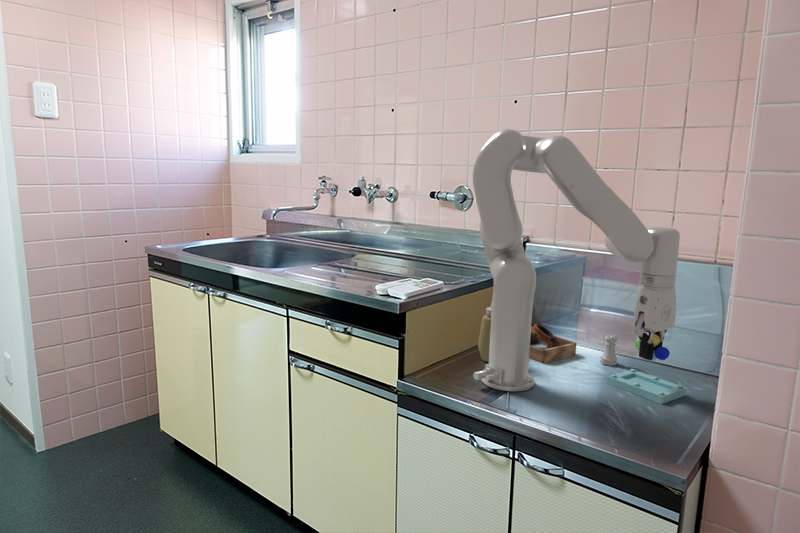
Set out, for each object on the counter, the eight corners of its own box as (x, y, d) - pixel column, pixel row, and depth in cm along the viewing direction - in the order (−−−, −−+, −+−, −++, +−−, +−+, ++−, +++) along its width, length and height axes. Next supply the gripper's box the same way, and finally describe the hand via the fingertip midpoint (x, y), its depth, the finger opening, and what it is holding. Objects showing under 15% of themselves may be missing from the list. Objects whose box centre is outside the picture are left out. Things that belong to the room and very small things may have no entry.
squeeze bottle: (507, 366, 142) (511, 299, 139) (476, 363, 144) (480, 298, 141) (506, 356, 150) (510, 293, 147) (477, 354, 151) (480, 291, 148)
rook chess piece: (618, 367, 144) (621, 338, 142) (601, 365, 145) (603, 336, 143) (615, 361, 148) (618, 333, 147) (598, 360, 149) (601, 332, 148)
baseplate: (661, 404, 120) (662, 394, 120) (607, 383, 132) (608, 374, 131) (685, 395, 126) (686, 386, 125) (631, 376, 137) (632, 367, 137)
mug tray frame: (542, 363, 145) (543, 351, 144) (500, 347, 158) (501, 335, 158) (576, 355, 153) (577, 343, 152) (534, 340, 166) (534, 329, 165)
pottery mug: (524, 342, 165) (540, 321, 162) (547, 363, 159) (563, 341, 157) (504, 341, 156) (521, 318, 153) (528, 362, 150) (545, 340, 148)
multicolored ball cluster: (670, 363, 125) (672, 337, 124) (663, 365, 123) (666, 338, 122) (638, 354, 131) (640, 329, 130) (632, 356, 130) (634, 330, 129)
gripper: (652, 287, 117) (644, 368, 120) (692, 280, 126) (684, 355, 129) (621, 281, 123) (614, 358, 126) (661, 275, 132) (654, 347, 135)
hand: (649, 356), depth 127 cm, fingers closed on multicolored ball cluster, 2 cm apart
